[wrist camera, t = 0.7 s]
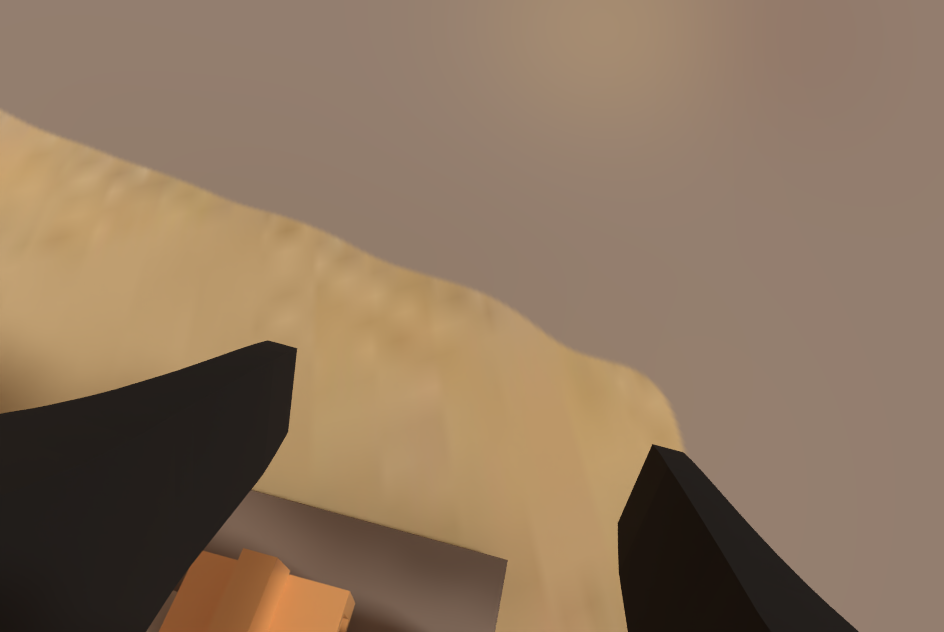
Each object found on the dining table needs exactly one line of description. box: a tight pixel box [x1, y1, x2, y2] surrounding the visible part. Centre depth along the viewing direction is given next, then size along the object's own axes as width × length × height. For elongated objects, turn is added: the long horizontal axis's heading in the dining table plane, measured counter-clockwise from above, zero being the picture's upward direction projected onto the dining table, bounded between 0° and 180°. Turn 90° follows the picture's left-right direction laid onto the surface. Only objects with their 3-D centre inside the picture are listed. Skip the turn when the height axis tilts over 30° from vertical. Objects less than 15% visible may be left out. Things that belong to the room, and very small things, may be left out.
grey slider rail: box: [146, 490, 508, 632], centre depth 19 cm, size 10×28×6 cm, turn 77°
